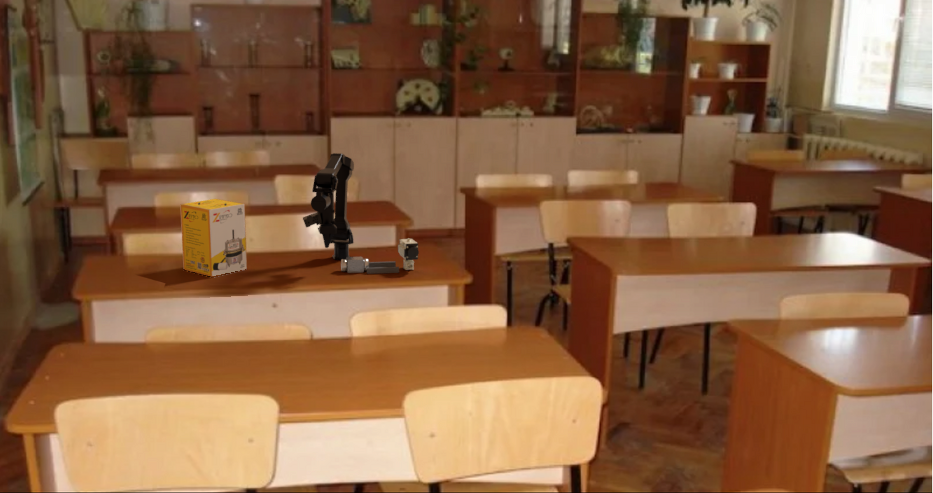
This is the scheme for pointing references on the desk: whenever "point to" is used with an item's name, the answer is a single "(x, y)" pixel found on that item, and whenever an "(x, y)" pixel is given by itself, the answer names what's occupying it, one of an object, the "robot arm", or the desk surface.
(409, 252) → the pneumatic valve
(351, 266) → the coupling
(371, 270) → the guide channel
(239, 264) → the packaging box
